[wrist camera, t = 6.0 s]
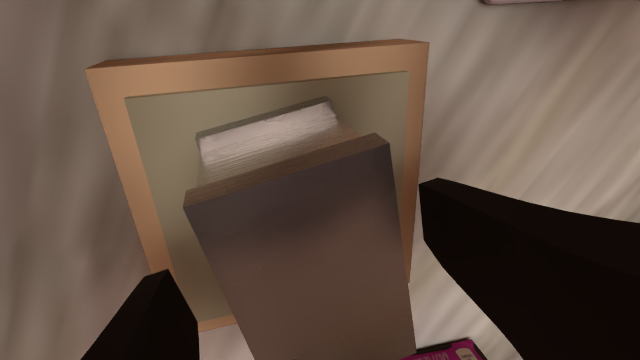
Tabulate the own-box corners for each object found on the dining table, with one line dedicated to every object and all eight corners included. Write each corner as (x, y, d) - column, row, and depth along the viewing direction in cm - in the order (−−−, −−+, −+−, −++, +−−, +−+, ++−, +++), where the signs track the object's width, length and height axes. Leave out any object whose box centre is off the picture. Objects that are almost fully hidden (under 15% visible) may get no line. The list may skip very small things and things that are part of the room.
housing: (325, 95, 11) (389, 143, 7) (358, 254, 14) (416, 352, 10) (196, 132, 10) (182, 208, 6) (259, 289, 13) (278, 408, 9)
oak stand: (400, 38, 13) (434, 42, 11) (389, 255, 17) (412, 287, 15) (105, 60, 11) (80, 70, 9) (177, 301, 15) (171, 344, 13)
